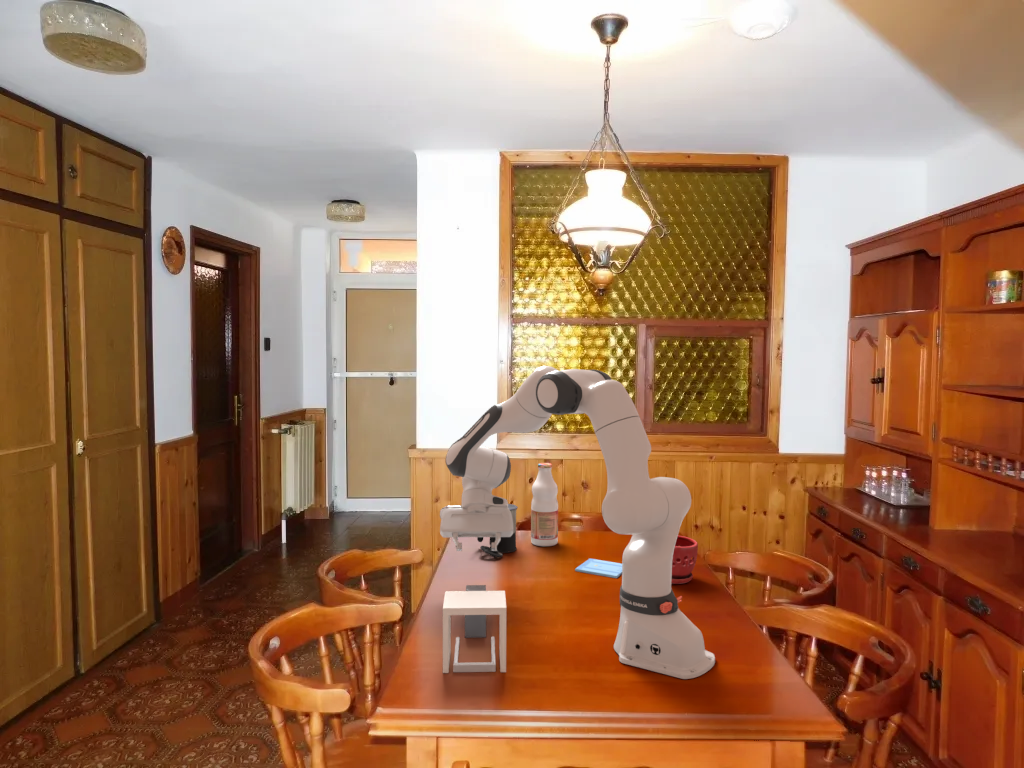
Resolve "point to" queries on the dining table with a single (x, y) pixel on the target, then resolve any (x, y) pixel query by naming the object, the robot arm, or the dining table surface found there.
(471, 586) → the grey block
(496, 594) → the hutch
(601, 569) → the light blue flat slab
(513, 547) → the milk frother
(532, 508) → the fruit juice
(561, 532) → the dining table surface
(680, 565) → the plant pot
